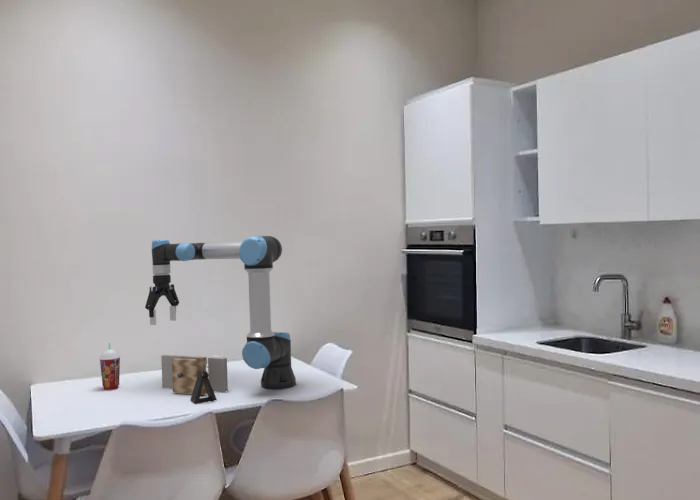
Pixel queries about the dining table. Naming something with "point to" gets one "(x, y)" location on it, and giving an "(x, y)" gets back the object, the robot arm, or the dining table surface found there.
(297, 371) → the dining table surface
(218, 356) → the cup
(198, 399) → the phone stand
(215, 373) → the wall
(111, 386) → the smoothie
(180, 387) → the door
